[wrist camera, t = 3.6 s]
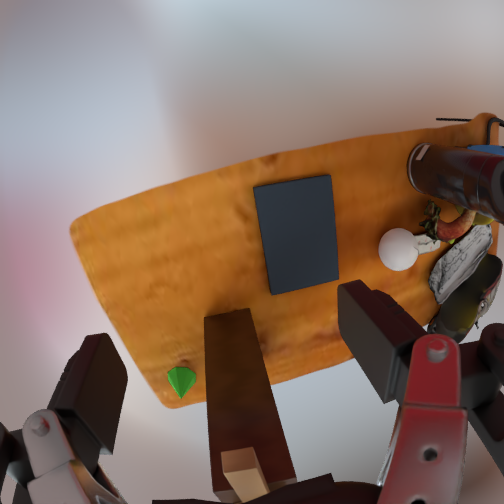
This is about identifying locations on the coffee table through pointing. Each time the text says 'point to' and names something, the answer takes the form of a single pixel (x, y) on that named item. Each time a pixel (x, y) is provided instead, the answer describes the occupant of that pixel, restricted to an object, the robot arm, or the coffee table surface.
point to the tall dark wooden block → (241, 403)
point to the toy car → (432, 326)
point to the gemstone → (181, 380)
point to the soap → (426, 244)
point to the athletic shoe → (470, 299)
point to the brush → (244, 473)
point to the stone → (460, 262)
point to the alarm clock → (488, 149)
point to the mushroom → (453, 229)
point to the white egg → (398, 249)
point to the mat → (298, 232)
